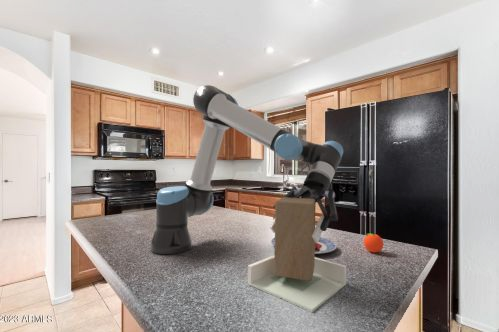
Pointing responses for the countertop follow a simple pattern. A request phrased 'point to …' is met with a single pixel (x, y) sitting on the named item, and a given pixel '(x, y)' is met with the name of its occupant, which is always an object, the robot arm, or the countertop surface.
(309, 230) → the wooden block
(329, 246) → the ceramic plate
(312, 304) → the corner arena
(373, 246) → the clementine
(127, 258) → the countertop surface
